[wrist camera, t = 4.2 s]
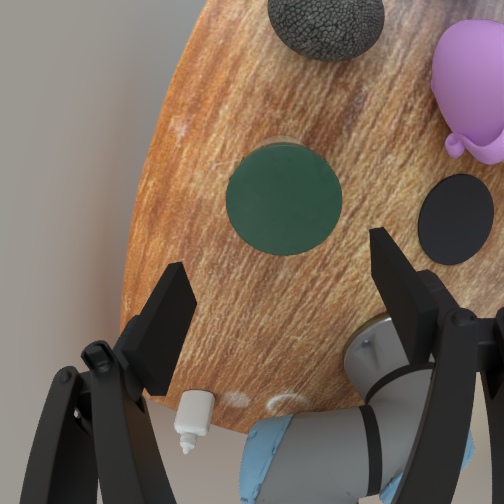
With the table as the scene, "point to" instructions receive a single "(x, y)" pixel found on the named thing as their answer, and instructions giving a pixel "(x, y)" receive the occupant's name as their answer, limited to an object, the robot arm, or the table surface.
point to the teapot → (472, 88)
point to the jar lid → (283, 199)
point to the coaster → (455, 219)
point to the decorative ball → (327, 26)
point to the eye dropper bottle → (193, 417)
